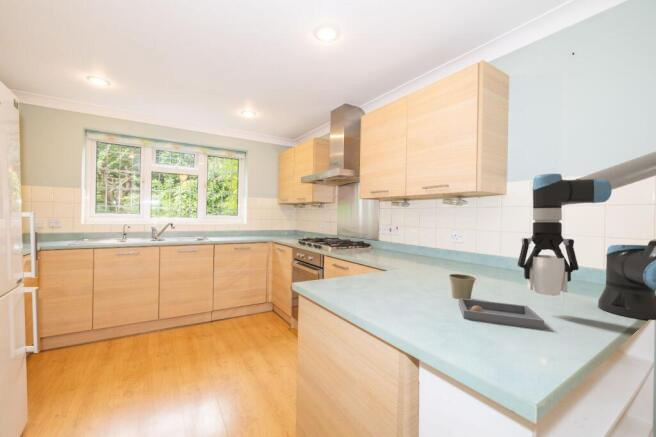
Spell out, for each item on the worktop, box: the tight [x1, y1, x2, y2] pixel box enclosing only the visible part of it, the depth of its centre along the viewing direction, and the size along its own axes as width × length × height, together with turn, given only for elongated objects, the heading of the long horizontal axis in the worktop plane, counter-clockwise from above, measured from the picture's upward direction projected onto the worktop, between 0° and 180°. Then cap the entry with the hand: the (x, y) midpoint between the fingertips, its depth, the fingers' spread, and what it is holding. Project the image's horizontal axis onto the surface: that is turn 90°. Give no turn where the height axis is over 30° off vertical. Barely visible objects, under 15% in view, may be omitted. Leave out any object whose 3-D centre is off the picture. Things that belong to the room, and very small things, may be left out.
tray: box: [458, 298, 545, 330], centre depth 87 cm, size 20×14×3 cm
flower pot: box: [448, 273, 477, 300], centre depth 106 cm, size 9×9×9 cm
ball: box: [471, 305, 484, 312], centre depth 85 cm, size 4×4×4 cm
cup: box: [530, 254, 565, 296], centre depth 92 cm, size 9×9×12 cm
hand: (546, 290), depth 92 cm, fingers closed on cup, 9 cm apart
